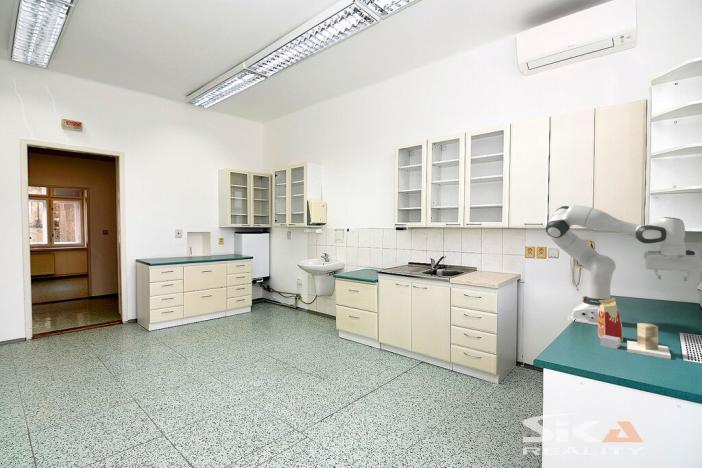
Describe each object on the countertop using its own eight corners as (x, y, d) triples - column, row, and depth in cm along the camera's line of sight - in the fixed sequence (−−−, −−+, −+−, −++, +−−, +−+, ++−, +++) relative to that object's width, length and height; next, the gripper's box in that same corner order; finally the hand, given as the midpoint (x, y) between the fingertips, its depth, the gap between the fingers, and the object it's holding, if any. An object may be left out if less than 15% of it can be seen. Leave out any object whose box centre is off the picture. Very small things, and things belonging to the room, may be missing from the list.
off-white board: (627, 352, 151) (627, 348, 151) (627, 343, 162) (627, 340, 162) (670, 359, 143) (670, 355, 143) (667, 349, 154) (667, 346, 154)
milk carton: (616, 336, 174) (616, 296, 174) (624, 341, 166) (624, 299, 165) (595, 334, 177) (594, 295, 177) (601, 339, 169) (601, 298, 168)
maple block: (645, 349, 150) (645, 326, 150) (637, 345, 155) (637, 323, 155) (658, 349, 150) (658, 326, 150) (649, 345, 155) (649, 323, 155)
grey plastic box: (600, 346, 160) (600, 337, 160) (604, 343, 164) (604, 334, 164) (616, 349, 156) (616, 340, 156) (620, 346, 159) (620, 337, 159)
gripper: (644, 250, 170) (644, 278, 170) (703, 252, 157) (703, 282, 158) (643, 250, 175) (643, 277, 175) (700, 251, 162) (700, 281, 163)
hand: (672, 280), depth 166 cm, fingers open, 8 cm apart
